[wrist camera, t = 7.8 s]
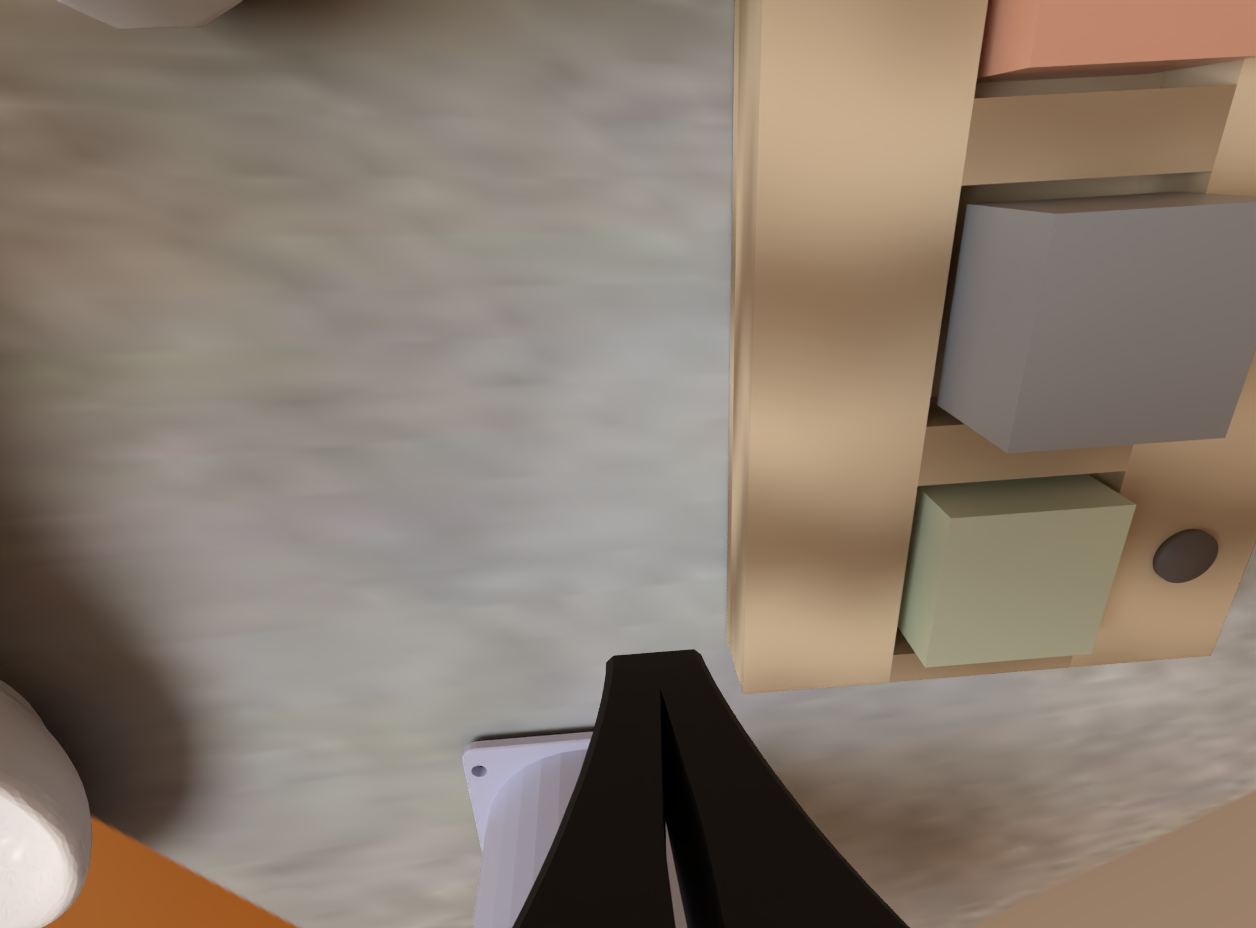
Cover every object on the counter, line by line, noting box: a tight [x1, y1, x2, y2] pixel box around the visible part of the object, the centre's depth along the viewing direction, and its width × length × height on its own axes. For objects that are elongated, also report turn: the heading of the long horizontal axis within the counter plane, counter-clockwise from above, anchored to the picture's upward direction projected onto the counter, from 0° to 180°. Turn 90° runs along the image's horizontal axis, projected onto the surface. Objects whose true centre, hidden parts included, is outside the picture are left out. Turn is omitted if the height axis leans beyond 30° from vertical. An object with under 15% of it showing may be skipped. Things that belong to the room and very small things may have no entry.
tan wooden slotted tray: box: [726, 0, 1256, 694], centre depth 16 cm, size 21×14×3 cm, turn 3°
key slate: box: [937, 192, 1256, 454], centre depth 14 cm, size 5×5×3 cm
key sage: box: [897, 474, 1136, 668], centre depth 18 cm, size 5×5×3 cm
